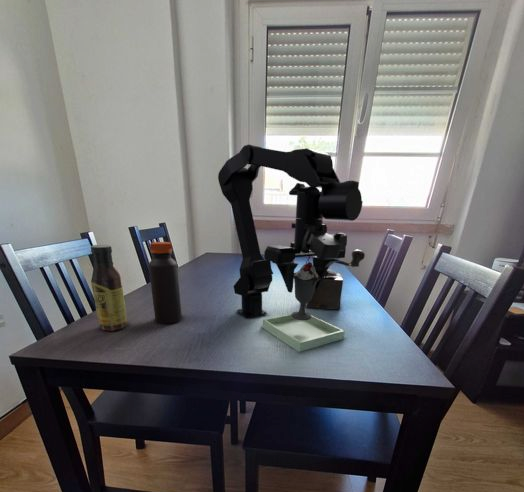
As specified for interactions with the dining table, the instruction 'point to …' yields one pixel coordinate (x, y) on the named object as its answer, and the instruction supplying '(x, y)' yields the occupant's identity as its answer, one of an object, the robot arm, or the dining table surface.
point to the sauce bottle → (107, 290)
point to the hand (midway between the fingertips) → (303, 290)
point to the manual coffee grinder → (332, 286)
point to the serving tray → (303, 331)
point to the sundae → (305, 288)
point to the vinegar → (164, 284)
